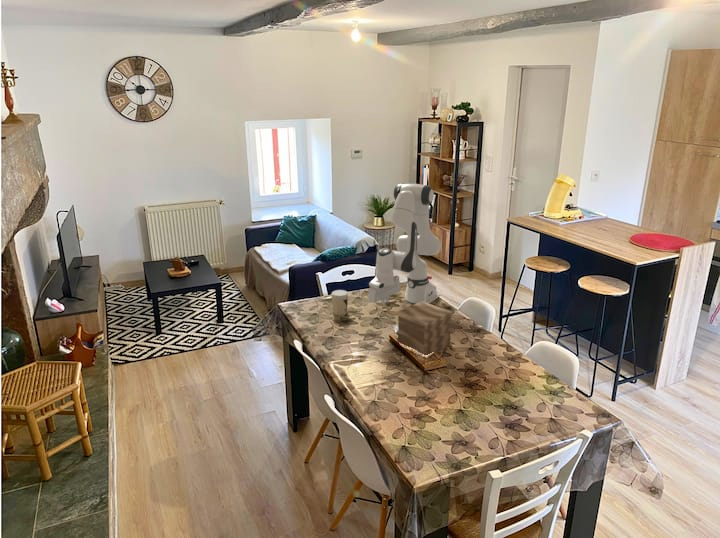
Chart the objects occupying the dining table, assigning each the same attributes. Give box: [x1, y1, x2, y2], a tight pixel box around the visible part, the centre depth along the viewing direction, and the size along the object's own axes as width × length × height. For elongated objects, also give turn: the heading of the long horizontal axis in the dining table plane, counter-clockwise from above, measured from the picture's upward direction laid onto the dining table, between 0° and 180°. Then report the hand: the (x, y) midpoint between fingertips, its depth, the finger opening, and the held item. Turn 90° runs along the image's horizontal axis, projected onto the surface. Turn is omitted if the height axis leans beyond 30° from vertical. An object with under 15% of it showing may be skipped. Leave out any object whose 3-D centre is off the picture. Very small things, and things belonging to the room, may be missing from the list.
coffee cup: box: [330, 289, 349, 316], centre depth 307 cm, size 9×9×12 cm
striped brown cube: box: [395, 301, 453, 355], centre depth 268 cm, size 19×19×18 cm
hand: (385, 304), depth 285 cm, fingers closed
